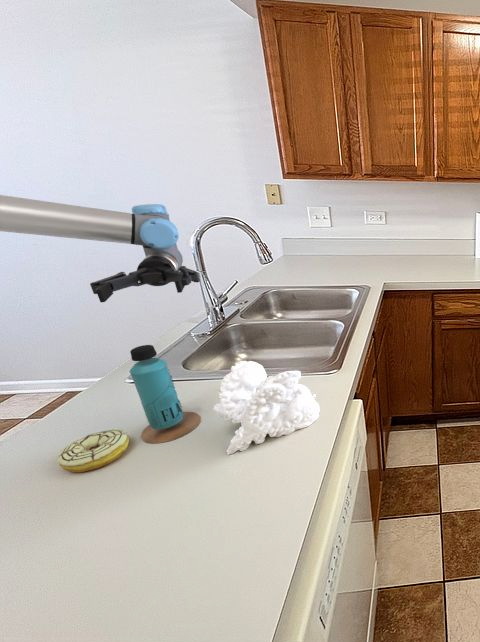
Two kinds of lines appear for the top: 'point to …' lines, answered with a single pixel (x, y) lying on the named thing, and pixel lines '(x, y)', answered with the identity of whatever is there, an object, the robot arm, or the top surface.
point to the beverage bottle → (155, 388)
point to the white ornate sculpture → (264, 404)
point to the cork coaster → (172, 429)
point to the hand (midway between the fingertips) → (140, 291)
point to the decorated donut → (93, 451)
